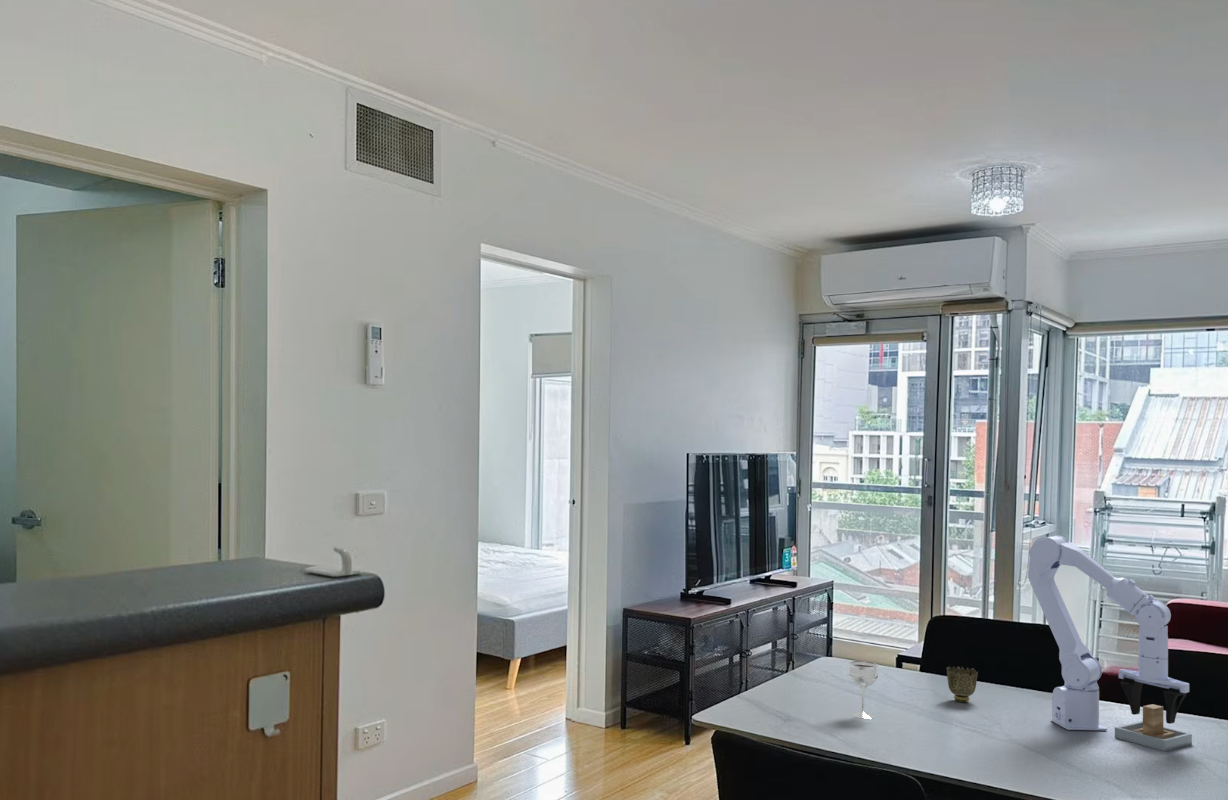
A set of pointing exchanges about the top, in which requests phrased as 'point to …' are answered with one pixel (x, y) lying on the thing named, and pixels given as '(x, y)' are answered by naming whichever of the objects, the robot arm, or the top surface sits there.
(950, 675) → the cup
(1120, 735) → the grey tray
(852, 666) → the wineglass
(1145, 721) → the tan wooden tall block
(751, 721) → the top surface
